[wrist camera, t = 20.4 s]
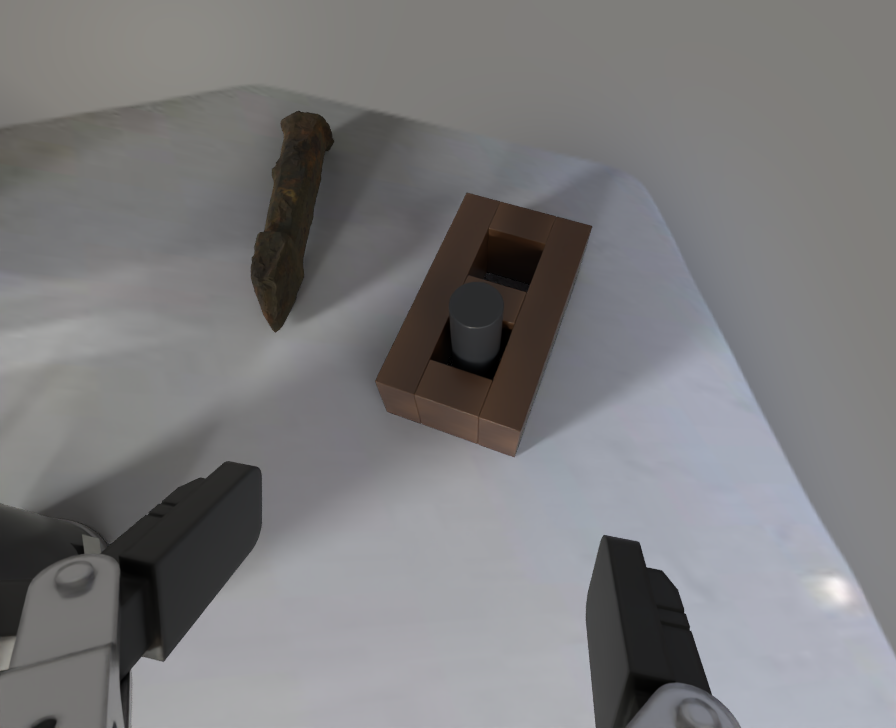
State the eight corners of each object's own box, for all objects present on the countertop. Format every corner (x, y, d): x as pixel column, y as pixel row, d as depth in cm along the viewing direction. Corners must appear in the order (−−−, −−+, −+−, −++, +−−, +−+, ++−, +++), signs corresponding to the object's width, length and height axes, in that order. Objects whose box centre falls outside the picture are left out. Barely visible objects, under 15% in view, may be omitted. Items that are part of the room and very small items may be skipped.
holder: (386, 411, 37) (374, 381, 32) (467, 238, 43) (466, 192, 38) (514, 457, 35) (520, 432, 30) (579, 269, 41) (592, 225, 36)
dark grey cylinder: (446, 386, 37) (439, 319, 29) (462, 348, 38) (459, 273, 30) (489, 401, 37) (494, 336, 29) (504, 362, 38) (512, 289, 30)
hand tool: (293, 146, 48) (275, 100, 44) (337, 147, 48) (324, 101, 43) (241, 334, 40) (214, 300, 36) (295, 336, 39) (273, 302, 35)
